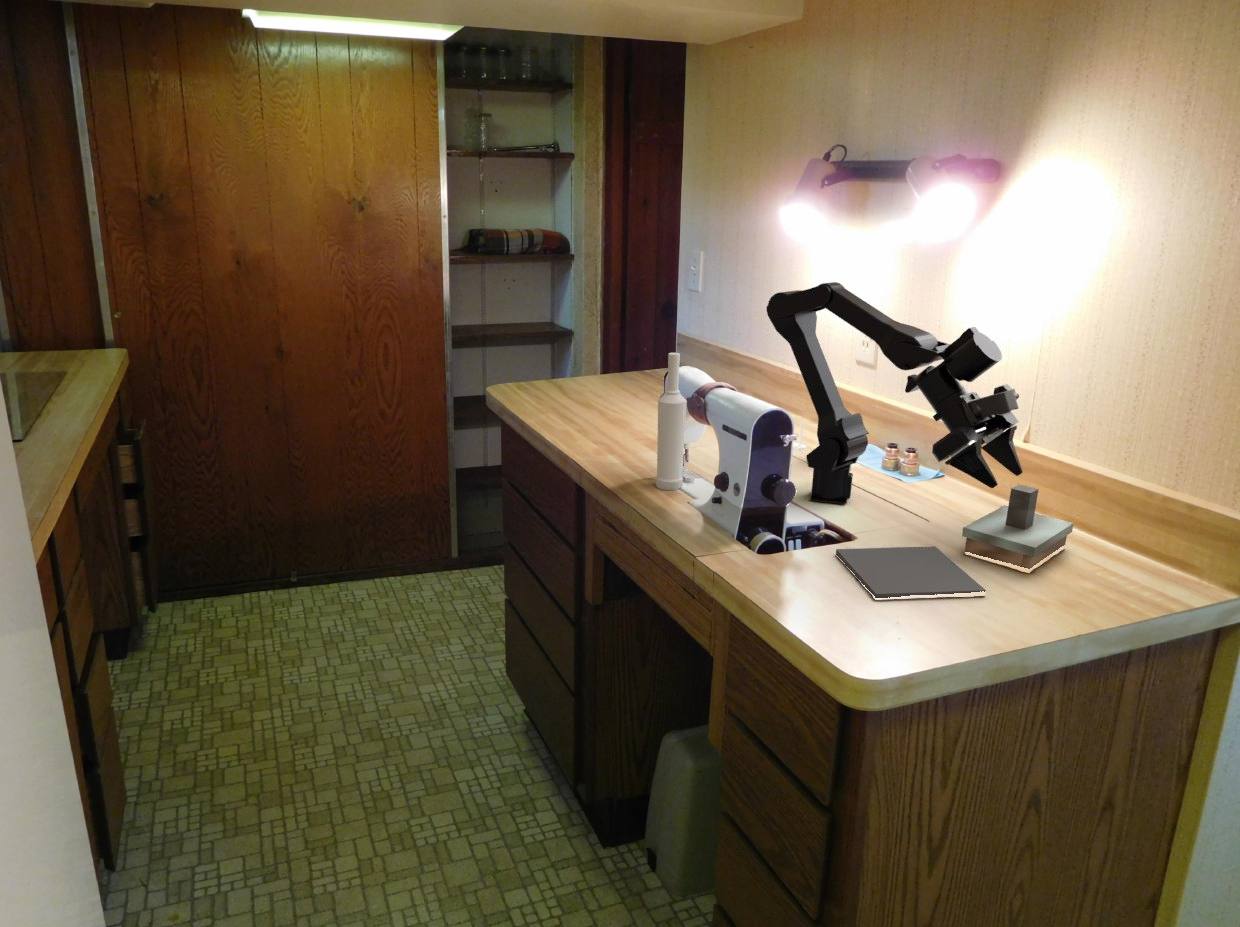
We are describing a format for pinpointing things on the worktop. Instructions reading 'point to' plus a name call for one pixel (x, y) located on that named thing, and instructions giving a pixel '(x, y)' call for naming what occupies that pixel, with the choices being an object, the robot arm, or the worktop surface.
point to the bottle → (671, 430)
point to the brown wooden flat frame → (1010, 553)
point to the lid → (1019, 525)
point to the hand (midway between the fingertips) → (1007, 480)
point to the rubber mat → (907, 571)
